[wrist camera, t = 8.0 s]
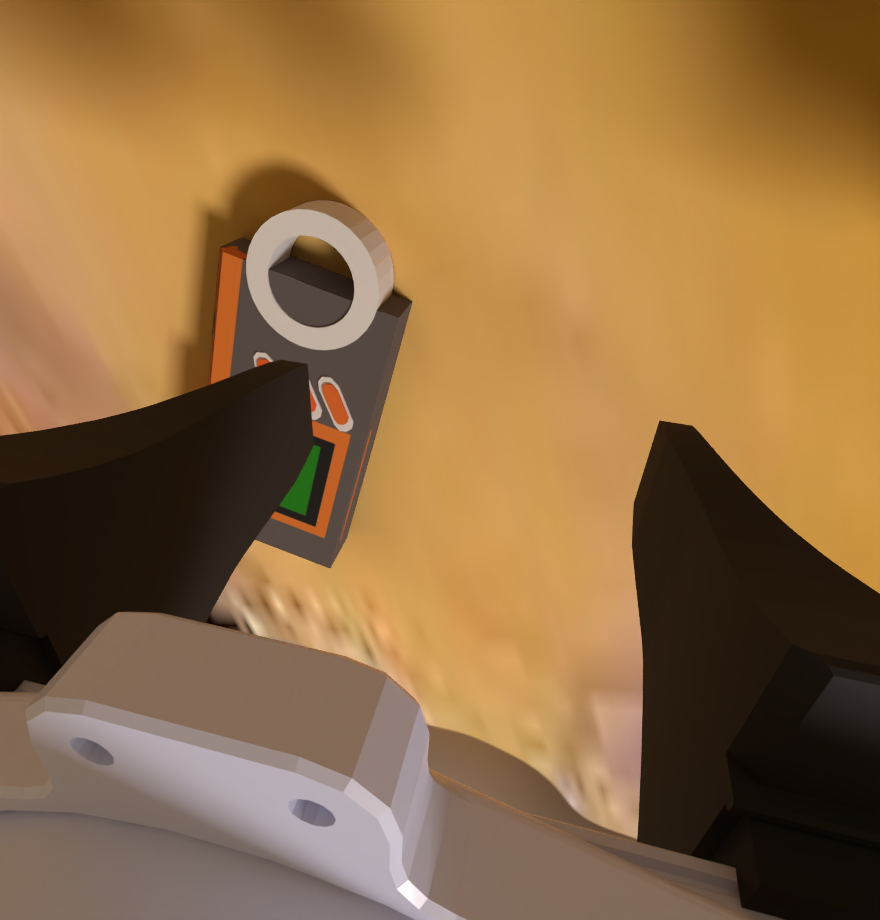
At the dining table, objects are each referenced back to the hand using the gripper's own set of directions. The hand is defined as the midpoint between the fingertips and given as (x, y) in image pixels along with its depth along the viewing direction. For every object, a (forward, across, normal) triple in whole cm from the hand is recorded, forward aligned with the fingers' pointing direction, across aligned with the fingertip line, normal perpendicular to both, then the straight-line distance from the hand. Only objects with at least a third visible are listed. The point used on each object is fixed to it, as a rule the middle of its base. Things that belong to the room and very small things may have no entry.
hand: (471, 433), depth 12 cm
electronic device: (+10, +8, +6) cm, 14 cm away
